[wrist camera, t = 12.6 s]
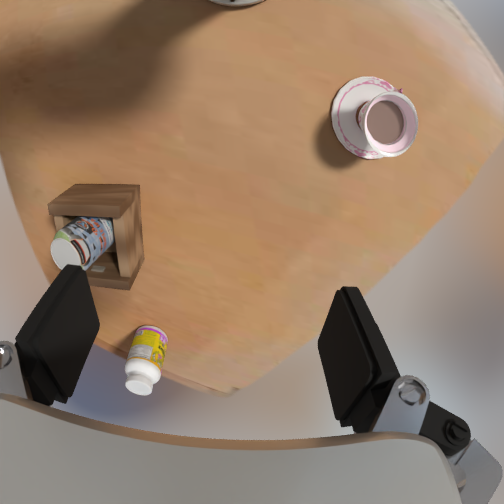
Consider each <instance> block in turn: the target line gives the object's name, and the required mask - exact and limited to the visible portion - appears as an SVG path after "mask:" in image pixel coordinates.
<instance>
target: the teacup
mask: <svg viewBox="0 0 504 504" xmlns="http://www.w3.org/2000/svg"><path fill="white" fill-rule="evenodd" d="M367 101H370V102H368V103H366V104H365V105H364V106H363V107H362V108H361V110H360V112H359V116H358V121H359V125H360V128H361V129H360V128H359V126H358V124H357V122H356V112H357V109H358V108H359V106H360V105H361V104H362V103H364V102H367ZM331 117H332V126H333V129H334V131H335V134H336V136H337V138H338V140H339V141H340V142H341V143H342V145H343V146H344V147H345V148H346V149H347V150H348V151H350V152H352V153H353V154H355V155H356V156H358V157H362V158H366V159H378V158H383V157H395V156H398V155H400V154H402V153H404V152H405V151H406V150H407V149H408V148H409V147H410V146H411V145H412V143H413V142H414V140H415V137H416V134H417V130H418V117H417V112H416V109H415V107H414V105H413V104H412V102H411V101H410V100H409V99H408V98H407V97H406V96H405V95H403V94H402V88H401V89H400V90H398V89H396V88H394V87H393V86H392V85H391V84H389V83H388V82H387V81H385V80H382V79H379V78H376V77H359V78H356V79H353V80H351V81H349V82H348V83H346V84H345V85H344V86H343V87H342V88H341V89H340V90H339V92H338V93H337V95H336V97H335V99H334V101H333V106H332V111H331Z"/></svg>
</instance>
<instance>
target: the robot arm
mask: <svg viewBox="0 0 504 504" xmlns="http://www.w3.org/2000/svg"><path fill="white" fill-rule="evenodd" d="M208 1H211V2H213V3H216V4H220V5H224V6H247V5H253V4H256V3H259V2H262V1H264V0H234V2H231V0H208ZM99 326H100V323H99V319H98V315H97V312H96V309H95V305H94V301H93V298H92V294H91V290H90V286H89V282H88V278H87V274H86V271H85V270H83V269H82V267H81V266H80V265H72V264H67V265H66V266H65V267H64V268H63V269H62V271H61V272H60V273H59V275H58V276H57V277H56V279H55V280H54V281H53V283H52V284H51V285H50V287H49V288H48V290H47V291H46V292H45V294H44V295H43V297H42V298H41V299H40V301H39V302H38V304H37V305H36V307H35V308H34V310H33V311H32V313H31V314H30V316H29V317H28V319H27V321H26V322H25V323H24V325H23V326H22V328H21V330H20V331H19V333H18V335H17V336H16V338H15V339H16V343H15V345H14V344H13V343H11V342H9V341H1V342H0V504H488V502H489V500H490V499H491V497H492V495H493V494H494V492H495V490H496V488H497V487H498V485H499V483H500V481H501V478H502V467H501V465H500V464H499V462H498V461H497V460H496V459H495V458H494V457H493V456H492V455H491V454H490V453H489V452H488V451H487V450H486V449H485V448H484V447H483V446H482V445H481V444H480V443H479V442H478V441H477V440H476V439H473V440H471V439H470V437H471V433H470V429H469V426H468V425H467V423H466V422H465V421H464V420H462V419H461V418H459V417H458V416H455V415H454V414H452V413H450V412H448V411H447V410H445V409H443V408H441V407H440V406H438V405H436V404H434V403H433V402H430V401H429V399H430V394H429V390H428V388H427V386H426V384H425V383H424V382H423V381H421V380H420V379H419V378H417V377H414V376H410V375H405V376H400V374H399V372H398V369H397V367H396V365H395V362H394V360H393V358H392V356H391V353H390V351H389V349H388V347H387V345H386V343H385V340H384V338H383V336H382V334H381V332H380V330H379V327H378V325H377V324H376V323H375V321H374V319H373V316H372V314H371V312H370V310H369V308H368V306H367V305H366V302H365V300H364V298H363V296H362V294H361V292H360V290H359V289H358V288H357V287H345V286H343V287H342V288H341V289H340V290H337V291H336V293H335V296H334V299H333V302H332V304H331V307H330V310H329V313H328V315H327V318H326V321H325V324H324V326H323V329H322V331H321V334H320V337H319V339H318V350H319V354H320V358H321V362H322V365H323V369H324V374H325V377H326V382H327V386H328V390H329V394H330V398H331V403H332V407H333V411H334V415H335V418H336V420H340V424H341V427H347V426H352V427H353V431H354V434H350V435H342V436H332V437H321V438H308V439H292V440H225V439H209V438H195V437H186V436H177V435H170V434H163V433H156V432H150V431H144V430H138V429H133V428H128V427H123V426H118V425H114V424H109V423H105V422H101V421H97V420H93V419H89V418H86V417H82V416H79V415H75V414H72V413H68V412H65V411H61V410H59V409H55V408H53V406H52V404H53V402H54V400H56V401H59V402H62V403H65V404H66V402H67V400H68V397H71V396H72V394H73V392H74V389H75V387H76V384H77V381H78V379H79V376H80V374H81V371H82V369H83V366H84V364H85V361H86V359H87V356H88V354H89V351H90V349H91V347H92V345H93V342H94V340H95V338H96V335H97V333H98V331H99Z"/></svg>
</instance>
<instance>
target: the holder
mask: <svg viewBox="0 0 504 504" xmlns="http://www.w3.org/2000/svg"><path fill="white" fill-rule="evenodd" d="M48 210H49V215H54V220H55V225H56V230H57V232H58V231H59V230H60V229H62V228H63V227H64V226H66V225H67V224H68V223H70V222H71V221H72V220H74V219H75V218H76V217H78V216H92V217H113V225H114V234H115V242H114V243H113V244H112V245H111V246H110V247H109V248H108V249H107V250H106V251H105V252H104V253H103V254H102V255H101V256H100V257H99V258H98V259H97V260H96V261H95V262H94V263H93V264H92V265H91V266H90V267H89V268H88V269H87V270H85V271H86V274H87V278H88V282H89V285H90V286H97V287H105V288H113V289H122V290H130V289H131V287H132V284H133V282H134V280H135V278H136V276H137V274H138V272H139V270H140V268H141V265H142V263H143V261H144V250H143V238H142V224H141V206H140V185H128V184H75V185H73V186H72V187H70V188H69V189H68V190H66V191H65V192H63V193H62V194H61V195H59V196H58V197H57V198H55V199H54V200H53V201H51V202H50V203H49V204H48Z"/></svg>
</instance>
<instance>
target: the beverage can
mask: <svg viewBox="0 0 504 504" xmlns="http://www.w3.org/2000/svg"><path fill="white" fill-rule="evenodd" d="M114 242H115V234H114V225H113V217H92V216H78V217H76V218H75V219H74V220H72V221H71V222H70V223H68V224H67V225H66V226H64V227H63V228H62V229H60V230H59V231H58V232H57V233H56V235H55V237H54V240H53V242H52V244H51V254H52V257H53V259H54V261H55V263H56V264H57V266H58V267H59V268H60V269H61V270H62V269H63V268H64V267H65V266H66V265H67V264H72V265H80V266H81V267H82V269H83V270H87V269H88V268H89V267H90V266H91V265H92V264H93V263H94V262H95V261H96V260H97V259H98V258H99V257H100V256H101V255H102V254H103V253H104V252H105V251H106V250H107V249H108V248H109V247H110V246H111V245H112V244H113V243H114Z"/></svg>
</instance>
